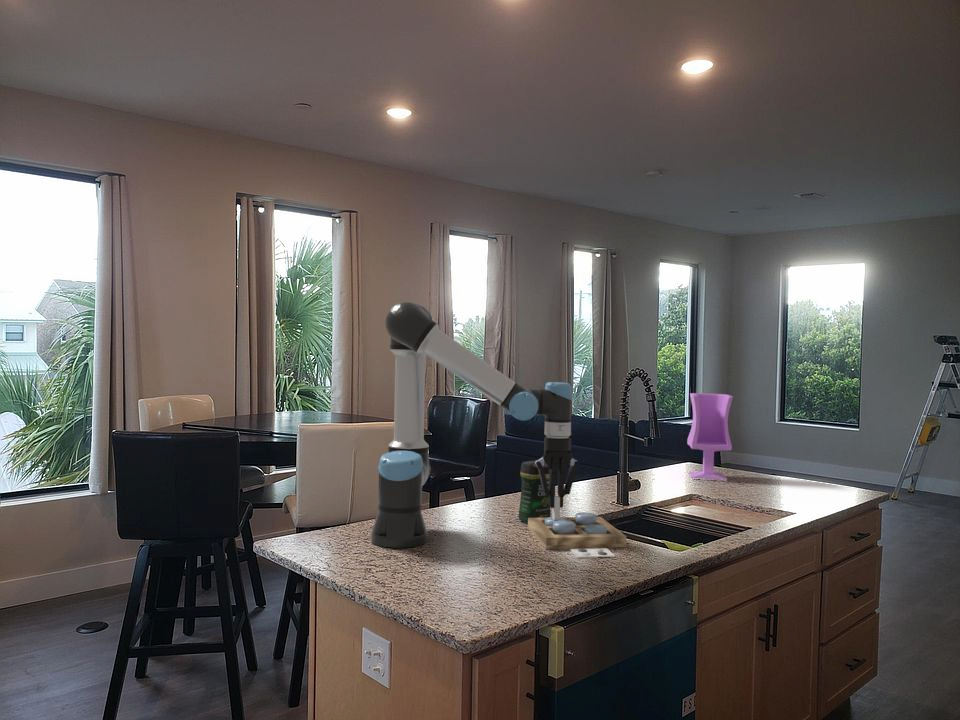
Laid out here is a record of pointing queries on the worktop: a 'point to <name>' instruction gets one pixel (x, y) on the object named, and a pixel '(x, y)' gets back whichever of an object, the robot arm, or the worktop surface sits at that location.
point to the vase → (709, 430)
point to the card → (592, 553)
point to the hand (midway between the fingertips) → (555, 518)
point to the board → (576, 536)
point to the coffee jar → (533, 493)
